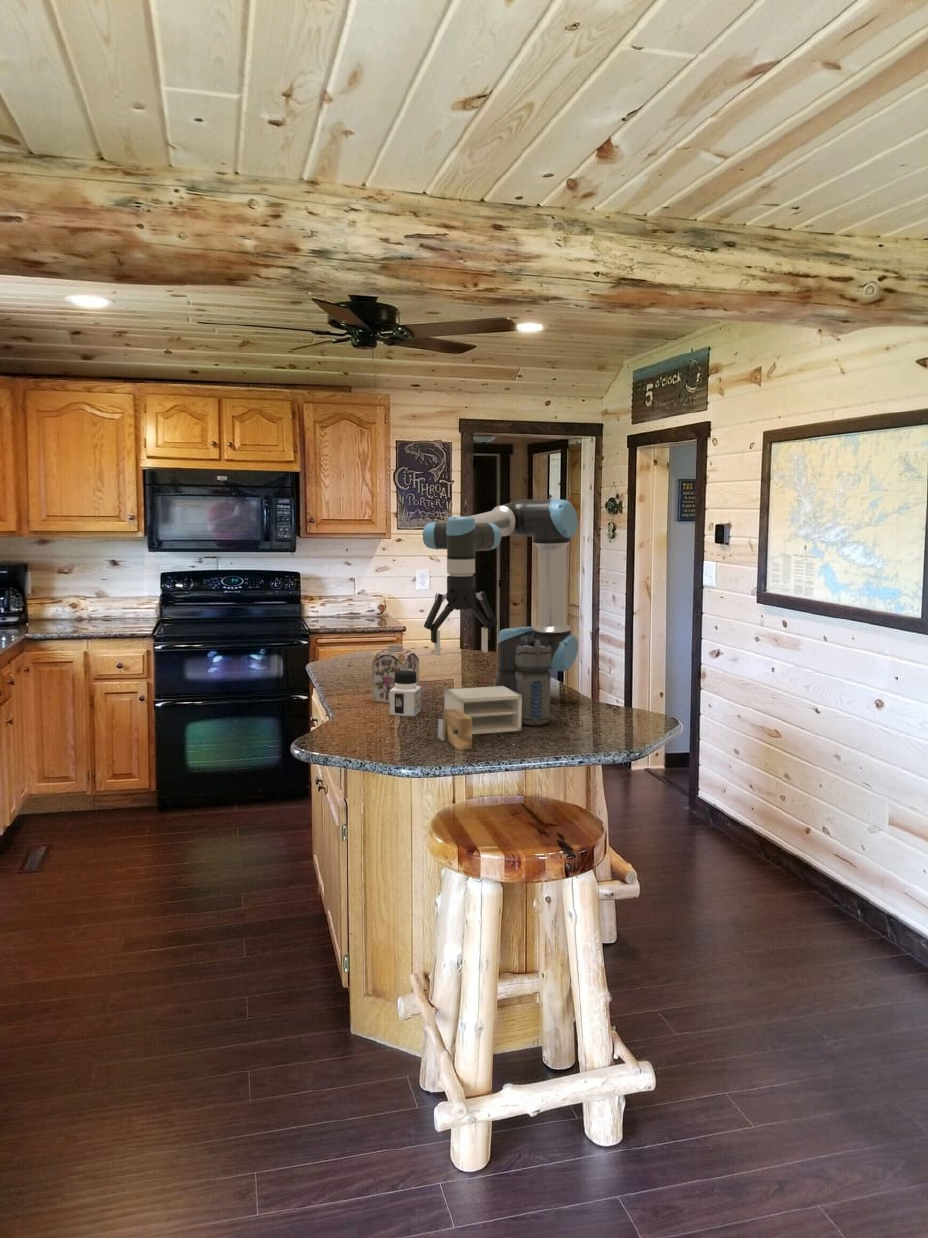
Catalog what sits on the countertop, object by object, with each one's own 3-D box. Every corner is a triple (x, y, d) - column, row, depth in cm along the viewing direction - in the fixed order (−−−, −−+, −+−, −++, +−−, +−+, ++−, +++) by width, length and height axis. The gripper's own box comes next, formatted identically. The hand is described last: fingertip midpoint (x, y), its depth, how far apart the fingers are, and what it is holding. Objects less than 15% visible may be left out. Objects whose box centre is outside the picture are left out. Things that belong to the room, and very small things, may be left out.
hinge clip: (460, 735, 232) (460, 717, 232) (465, 739, 229) (465, 720, 228) (437, 737, 230) (438, 719, 230) (442, 741, 226) (442, 722, 226)
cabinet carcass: (502, 719, 252) (503, 685, 251) (521, 730, 239) (521, 695, 238) (443, 723, 246) (444, 689, 245) (459, 735, 233) (460, 698, 232)
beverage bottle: (542, 716, 257) (544, 633, 254) (554, 726, 244) (556, 639, 241) (509, 717, 255) (511, 633, 252) (518, 727, 242) (520, 639, 239)
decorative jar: (370, 702, 274) (370, 646, 272) (387, 695, 285) (387, 641, 283) (404, 705, 270) (404, 648, 267) (420, 698, 280) (420, 643, 278)
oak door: (456, 737, 231) (457, 708, 230) (471, 749, 219) (472, 718, 218) (440, 739, 229) (441, 709, 228) (455, 750, 218) (455, 719, 217)
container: (414, 716, 254) (414, 673, 253) (389, 715, 256) (389, 672, 254) (420, 711, 262) (421, 669, 260) (396, 709, 263) (396, 667, 262)
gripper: (498, 572, 237) (498, 648, 240) (412, 575, 229) (412, 653, 232) (509, 574, 230) (509, 652, 233) (420, 577, 222) (421, 658, 225)
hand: (461, 653), depth 232 cm, fingers open, 13 cm apart
